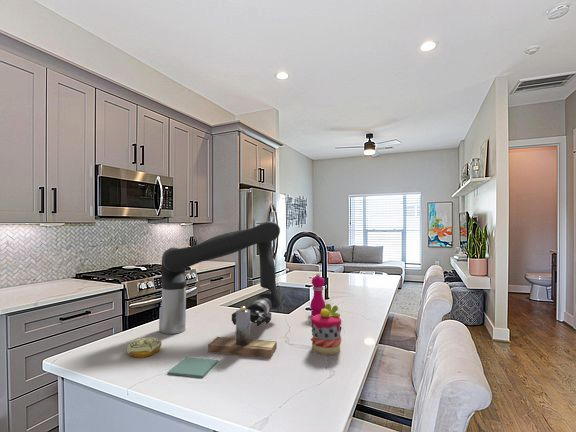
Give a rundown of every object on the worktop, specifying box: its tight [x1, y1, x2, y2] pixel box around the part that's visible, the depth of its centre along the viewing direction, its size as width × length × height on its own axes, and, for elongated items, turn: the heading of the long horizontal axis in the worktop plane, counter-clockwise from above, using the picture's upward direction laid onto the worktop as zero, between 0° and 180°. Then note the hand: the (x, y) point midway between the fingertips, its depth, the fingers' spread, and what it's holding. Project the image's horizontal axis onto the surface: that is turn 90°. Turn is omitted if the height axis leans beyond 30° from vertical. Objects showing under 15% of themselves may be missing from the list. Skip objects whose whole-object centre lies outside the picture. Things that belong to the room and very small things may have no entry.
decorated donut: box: [126, 336, 162, 359], centre depth 111 cm, size 10×11×4 cm
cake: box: [310, 303, 342, 356], centre depth 115 cm, size 10×11×15 cm
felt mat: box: [167, 356, 219, 379], centre depth 99 cm, size 11×11×1 cm
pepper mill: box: [309, 272, 326, 317], centre depth 158 cm, size 7×7×20 cm
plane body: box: [207, 336, 278, 359], centre depth 113 cm, size 22×8×3 cm, turn 79°
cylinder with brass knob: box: [235, 305, 251, 346], centre depth 113 cm, size 5×5×13 cm
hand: (245, 322), depth 116 cm, fingers open, 8 cm apart
